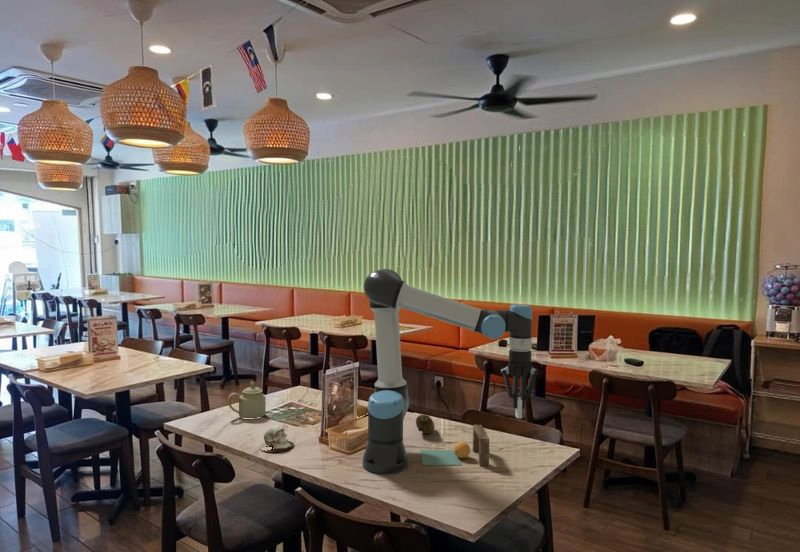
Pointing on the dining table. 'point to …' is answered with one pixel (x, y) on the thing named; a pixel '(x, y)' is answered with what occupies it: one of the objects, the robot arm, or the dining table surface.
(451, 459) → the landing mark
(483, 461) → the bridge
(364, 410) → the croissant
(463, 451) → the ball
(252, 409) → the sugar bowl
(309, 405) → the dining table surface
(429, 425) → the dark green avocado
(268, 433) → the skull
